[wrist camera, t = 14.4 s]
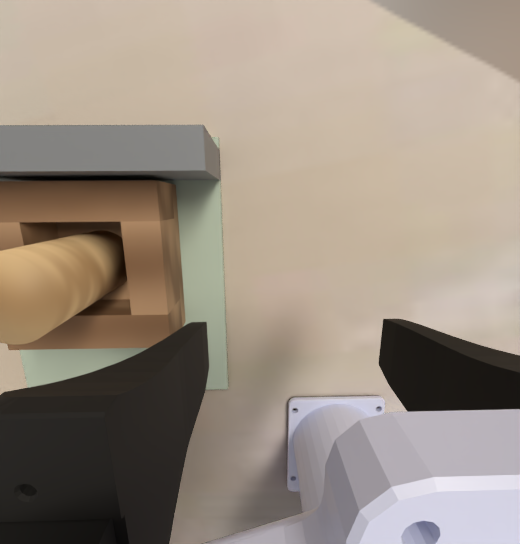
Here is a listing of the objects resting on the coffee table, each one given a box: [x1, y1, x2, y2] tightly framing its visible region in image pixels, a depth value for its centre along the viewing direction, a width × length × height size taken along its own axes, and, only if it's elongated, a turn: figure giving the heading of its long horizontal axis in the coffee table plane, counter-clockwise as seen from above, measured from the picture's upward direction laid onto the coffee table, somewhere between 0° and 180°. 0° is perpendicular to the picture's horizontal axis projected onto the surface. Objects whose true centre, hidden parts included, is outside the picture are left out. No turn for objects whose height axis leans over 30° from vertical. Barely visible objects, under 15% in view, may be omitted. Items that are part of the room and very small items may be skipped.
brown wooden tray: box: [0, 180, 186, 350], centre depth 19 cm, size 10×10×4 cm
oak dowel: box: [0, 230, 127, 345], centre depth 16 cm, size 4×4×8 cm
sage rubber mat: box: [20, 137, 228, 390], centre depth 21 cm, size 19×16×1 cm
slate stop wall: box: [0, 125, 221, 181], centre depth 17 cm, size 2×16×6 cm, turn 90°
